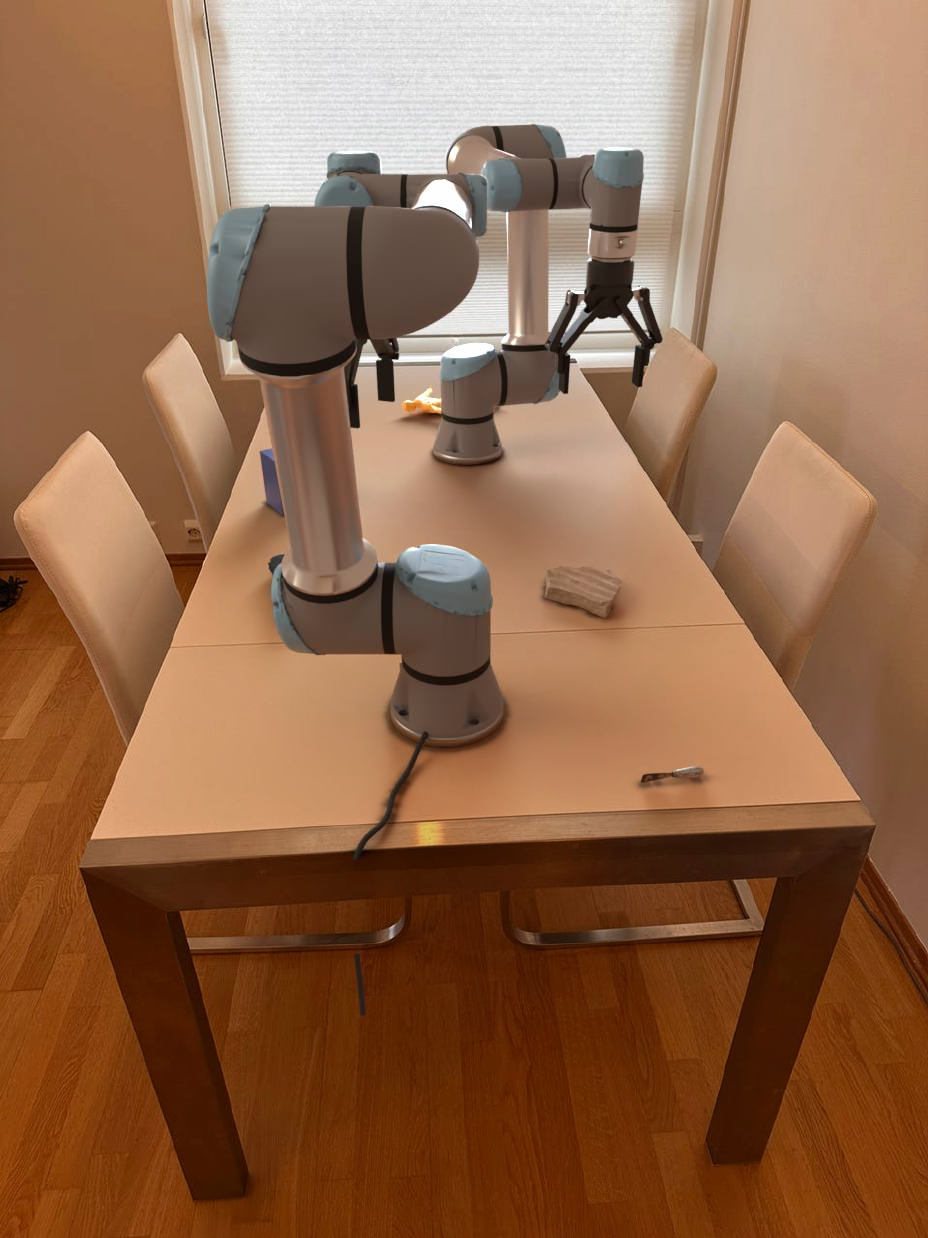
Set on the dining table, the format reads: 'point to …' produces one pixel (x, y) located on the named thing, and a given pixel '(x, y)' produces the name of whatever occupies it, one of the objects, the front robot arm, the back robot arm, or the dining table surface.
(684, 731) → the dining table surface
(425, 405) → the human figure
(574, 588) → the stone
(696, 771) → the putty knife
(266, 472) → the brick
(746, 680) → the dining table surface
